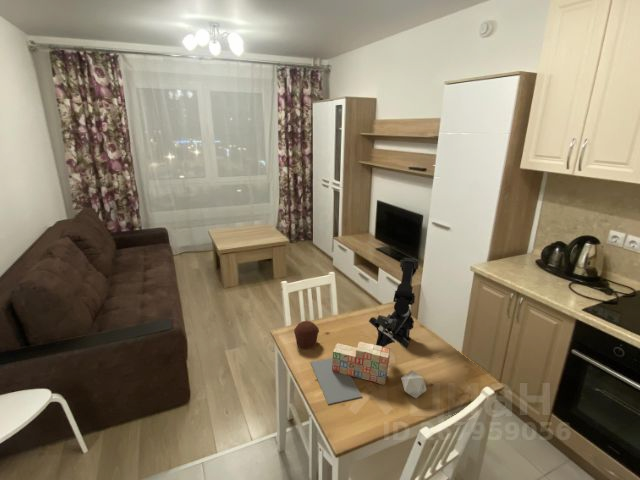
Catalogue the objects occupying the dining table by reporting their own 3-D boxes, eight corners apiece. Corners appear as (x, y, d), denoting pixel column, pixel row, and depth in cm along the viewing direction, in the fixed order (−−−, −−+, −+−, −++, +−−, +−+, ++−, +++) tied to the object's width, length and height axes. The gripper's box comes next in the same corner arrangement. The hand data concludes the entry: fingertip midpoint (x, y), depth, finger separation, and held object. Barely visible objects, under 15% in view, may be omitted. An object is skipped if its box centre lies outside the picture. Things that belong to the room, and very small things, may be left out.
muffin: (294, 336, 160) (293, 317, 157) (317, 335, 161) (317, 316, 158) (294, 351, 149) (294, 331, 146) (319, 350, 150) (320, 330, 147)
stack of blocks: (331, 371, 135) (332, 344, 132) (335, 362, 141) (337, 336, 138) (385, 385, 129) (388, 357, 125) (387, 374, 135) (390, 348, 131)
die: (404, 403, 121) (423, 390, 117) (392, 379, 127) (410, 366, 122) (417, 400, 127) (435, 388, 122) (405, 378, 132) (423, 365, 127)
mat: (339, 357, 145) (339, 356, 145) (362, 397, 123) (362, 396, 123) (310, 362, 141) (310, 361, 141) (328, 404, 119) (328, 403, 119)
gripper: (373, 299, 142) (351, 330, 139) (406, 319, 127) (382, 353, 124) (386, 311, 148) (365, 341, 146) (418, 331, 133) (396, 365, 130)
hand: (375, 349), depth 136 cm, fingers closed
